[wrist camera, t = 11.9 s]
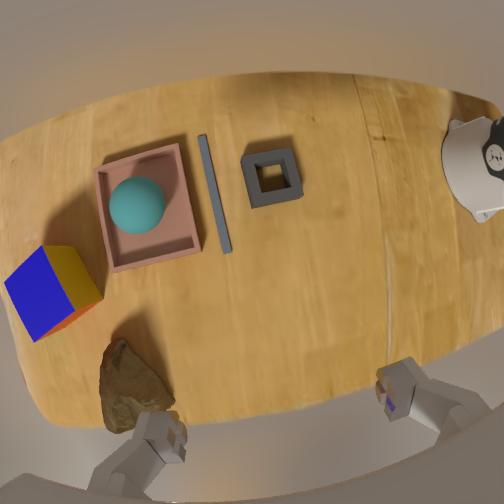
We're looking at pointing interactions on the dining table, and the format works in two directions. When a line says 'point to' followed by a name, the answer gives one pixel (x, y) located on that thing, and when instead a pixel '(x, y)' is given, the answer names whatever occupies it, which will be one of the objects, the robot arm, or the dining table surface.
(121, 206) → the ball
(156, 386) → the rock
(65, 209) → the dining table surface
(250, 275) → the dining table surface
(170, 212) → the tray
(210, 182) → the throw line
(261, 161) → the grey square frame
